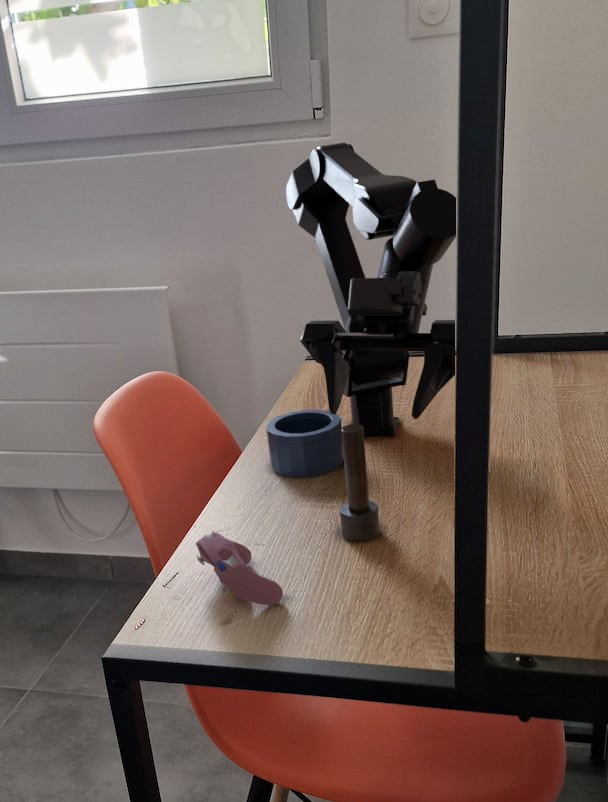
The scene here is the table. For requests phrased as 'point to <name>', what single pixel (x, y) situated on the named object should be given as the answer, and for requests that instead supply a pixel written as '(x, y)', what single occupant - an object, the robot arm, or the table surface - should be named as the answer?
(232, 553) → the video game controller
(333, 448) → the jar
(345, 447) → the brown peg with base
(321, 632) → the table surface
